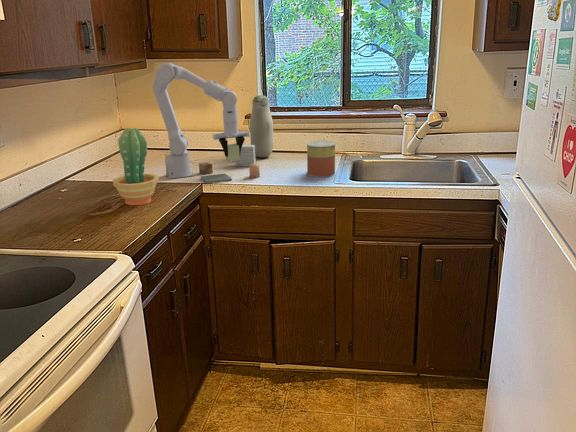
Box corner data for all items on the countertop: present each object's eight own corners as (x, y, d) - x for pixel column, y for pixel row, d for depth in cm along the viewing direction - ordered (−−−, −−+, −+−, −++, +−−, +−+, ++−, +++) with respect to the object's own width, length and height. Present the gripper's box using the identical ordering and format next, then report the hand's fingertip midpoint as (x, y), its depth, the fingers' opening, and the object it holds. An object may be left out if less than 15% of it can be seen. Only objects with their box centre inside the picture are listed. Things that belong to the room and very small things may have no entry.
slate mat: (206, 183, 203) (206, 181, 203) (200, 178, 211) (200, 176, 211) (231, 180, 207) (231, 178, 206) (225, 175, 214) (225, 173, 214)
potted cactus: (165, 194, 191) (158, 124, 182) (155, 207, 176) (147, 132, 168) (122, 195, 191) (113, 125, 182) (109, 208, 176) (98, 133, 168)
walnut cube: (204, 175, 216) (203, 165, 215) (199, 173, 219) (198, 163, 218) (212, 173, 218) (212, 163, 217) (208, 171, 222) (207, 162, 220)
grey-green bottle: (247, 158, 244) (244, 96, 235) (261, 154, 251) (259, 93, 242) (263, 160, 238) (261, 97, 229) (277, 156, 246) (276, 94, 237)
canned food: (339, 175, 211) (339, 145, 207) (312, 177, 208) (312, 147, 204) (329, 168, 221) (329, 140, 217) (303, 171, 218) (303, 142, 214)
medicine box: (255, 164, 232) (255, 144, 229) (254, 166, 228) (253, 146, 225) (238, 164, 233) (236, 144, 230) (236, 166, 228) (235, 146, 226)
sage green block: (228, 161, 212) (228, 146, 211) (225, 159, 216) (224, 144, 214) (239, 160, 214) (239, 145, 212) (236, 158, 218) (235, 143, 216)
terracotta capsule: (251, 178, 209) (251, 166, 207) (248, 176, 212) (247, 164, 211) (261, 177, 210) (260, 165, 209) (257, 175, 214) (257, 163, 212)
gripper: (215, 124, 204) (217, 159, 209) (251, 121, 209) (252, 155, 214) (210, 122, 210) (213, 156, 215) (245, 119, 216) (247, 152, 220)
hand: (232, 155), depth 215 cm, fingers closed on sage green block, 4 cm apart
